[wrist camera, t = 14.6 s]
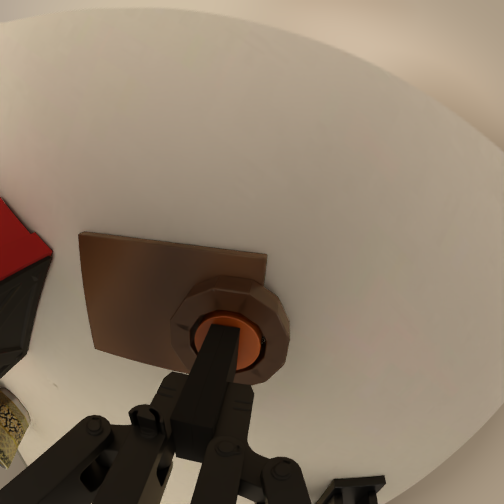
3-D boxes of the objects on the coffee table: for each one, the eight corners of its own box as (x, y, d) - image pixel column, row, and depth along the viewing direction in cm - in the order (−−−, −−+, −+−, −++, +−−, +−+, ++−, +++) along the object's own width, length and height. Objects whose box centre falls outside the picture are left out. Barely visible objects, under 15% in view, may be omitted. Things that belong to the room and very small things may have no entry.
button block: (299, 258, 16) (301, 275, 14) (277, 381, 19) (275, 407, 16) (83, 231, 17) (60, 241, 15) (98, 344, 20) (82, 362, 17)
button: (266, 307, 16) (264, 321, 14) (259, 358, 17) (256, 374, 16) (201, 298, 16) (194, 311, 15) (201, 349, 17) (194, 364, 16)
